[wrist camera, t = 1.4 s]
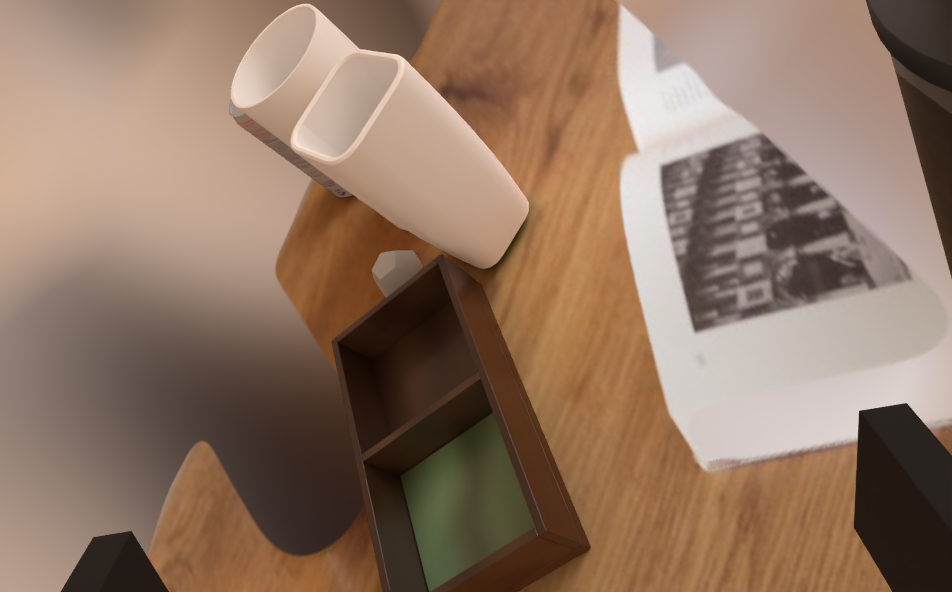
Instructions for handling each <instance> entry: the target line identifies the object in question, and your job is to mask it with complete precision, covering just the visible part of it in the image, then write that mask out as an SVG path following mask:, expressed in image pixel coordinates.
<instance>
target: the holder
mask: <svg viewBox="0 0 952 592" xmlns="http://www.w3.org/2000/svg"><path fill="white" fill-rule="evenodd" d="M332 346H333V351H334V356H335V361H336V366H337V371H338V376H339V380H340V385H341V390H342V395H343V400H344V405H345V410H346V415H347V419H348V424H349V429H350V434H351V439H352V444H353V449H354V454H355V458H356V463H357V468H358V473H359V478H360V483H361V487H362V493H363V498H364V503H365V507H366V512H367V517H368V522H369V527H370V532H371V537H372V542H373V547H374V551H375V556H376V561H377V566H378V571H379V576H380V581H381V586H382V590H383V592H517V591H519V590H521V589H522V588H524V587H526V586H528V585H529V584H531V583H533V582H534V581H536V580H538V579H539V578H541V577H543V576H545V575H546V574H548V573H550V572H551V571H553V570H555V569H556V568H558V567H560V566H562V565H563V564H565V563H567V562H568V561H570V560H572V559H573V558H575V557H577V556H579V555H580V554H582V553H584V552H585V551H587V550H589V549H590V548H591V547H590V544H589V542H588V540H587V537H586V535H585V532H584V530H583V528H582V525H581V523H580V520H579V518H578V516H577V513H576V511H575V508H574V506H573V504H572V501H571V499H570V496H569V494H568V492H567V489H566V487H565V484H564V482H563V480H562V477H561V475H560V472H559V470H558V468H557V465H556V463H555V460H554V458H553V456H552V453H551V451H550V448H549V446H548V444H547V441H546V439H545V436H544V434H543V432H542V429H541V427H540V424H539V422H538V420H537V417H536V415H535V412H534V410H533V408H532V405H531V403H530V400H529V398H528V396H527V393H526V391H525V388H524V386H523V384H522V381H521V379H520V376H519V374H518V372H517V369H516V367H515V364H514V362H513V360H512V357H511V355H510V352H509V350H508V348H507V345H506V343H505V340H504V338H503V336H502V333H501V331H500V328H499V326H498V324H497V321H496V319H495V316H494V314H493V312H492V309H491V307H490V304H489V302H488V300H487V297H486V295H485V292H484V290H483V288H482V285H481V284H480V283H479V282H477V281H476V280H475V279H473V278H472V277H471V276H470V275H468V274H467V273H466V272H464V271H463V270H462V269H460V268H459V267H458V266H456V265H455V264H454V263H452V262H451V261H450V260H448V259H447V258H446V257H444V256H443V255H442V254H441V255H440V256H439V257H437V258H436V259H435V260H433V261H432V262H431V263H430V264H428V265H427V266H426V267H425V268H423V269H422V270H421V271H420V272H418V273H417V274H416V275H414V276H413V277H412V278H411V279H409V280H408V281H407V282H406V283H404V284H403V285H402V286H400V287H399V288H398V289H397V290H395V291H394V292H393V293H392V294H390V295H389V296H388V297H387V298H385V299H384V300H383V301H381V302H380V303H379V304H378V305H376V306H375V307H374V308H373V309H371V310H370V311H369V312H368V313H366V314H365V315H364V316H362V317H361V318H360V319H359V320H357V321H356V322H355V323H354V324H352V325H351V326H350V327H348V328H347V329H346V330H345V331H343V332H342V333H341V334H340V335H338V336H337V337H336V338H335V339H333V340H332Z"/></svg>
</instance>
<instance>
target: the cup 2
mask: <svg viewBox="0 0 952 592" xmlns="http://www.w3.org/2000/svg"><path fill="white" fill-rule="evenodd" d="M291 149H292V150H293V151H294V152H295V153H297V154H298V155H299V156H301V157H302V158H303V159H305V160H306V161H307V162H309V163H310V164H311V165H313V166H314V167H315V168H317V169H318V170H319V171H321V172H322V173H323V174H325V175H326V176H327V177H329V178H330V179H331V180H333V181H334V182H336V183H337V184H338V185H340V186H341V187H343V188H344V189H345V190H347V191H348V192H350V193H351V194H352V195H354V196H355V197H357V198H358V199H360V200H361V201H362V202H364V203H365V204H367V205H368V206H370V207H371V208H373V209H374V210H376V211H377V212H379V213H380V214H382V215H383V216H385V217H386V218H388V219H389V220H391V221H392V222H394V223H395V224H397V225H399V226H400V227H402V228H404V229H405V230H407V231H409V232H410V233H412V234H414V235H415V236H417V237H419V238H420V239H422V240H424V241H425V242H427V243H429V244H431V245H433V246H435V247H437V248H438V249H440V250H442V251H444V252H446V253H448V254H449V255H451V256H453V257H456V258H458V259H460V260H462V261H464V262H466V263H469V264H471V265H473V266H475V267H477V268H481V269H486V268H489V267H492V266H493V265H494V264H496V263H497V262H498V261H499V260H500V259H501V257H502V256H503V255H504V253H505V251H506V250H507V248H508V246H509V245H510V243H511V242H512V240H513V238H514V237H515V235H516V233H517V232H518V230H519V229H520V227H521V225H522V224H523V222H524V220H525V219H526V217H527V214H528V212H529V203H528V200H527V199H526V197H525V196H524V194H523V193H522V191H521V190H520V189H519V187H518V186H517V184H516V183H515V182H514V180H513V179H512V177H511V176H510V175H509V173H508V172H507V171H506V169H505V168H504V167H503V166H502V164H501V163H500V162H499V160H498V159H497V158H496V157H495V155H494V154H493V153H492V151H491V150H490V149H489V148H488V147H487V146H486V145H485V143H484V142H483V141H482V140H481V139H480V138H479V137H478V135H477V134H476V133H475V132H474V131H473V130H472V129H471V127H470V126H469V125H468V124H467V123H466V122H465V121H464V120H463V119H462V118H461V116H460V115H459V114H458V113H457V112H456V111H455V110H454V109H453V108H452V107H451V106H450V105H449V104H448V103H447V102H446V101H445V99H444V98H443V97H442V96H441V95H440V94H439V93H438V92H437V91H436V90H435V89H434V88H433V87H432V86H431V85H430V84H429V83H428V82H427V81H426V80H425V79H424V78H423V77H422V76H421V75H420V74H419V73H418V72H417V71H416V70H415V69H414V68H413V67H412V66H411V65H410V64H409V63H408V62H407V61H406V60H405V59H404V58H402V57H401V56H399V55H396V54H389V53H381V52H374V51H368V50H356V51H352V52H350V53H348V54H347V55H345V56H344V57H343V58H342V59H341V60H339V61H338V62H337V64H336V65H335V66H334V67H333V69H332V70H331V72H330V73H329V75H328V76H327V78H326V79H325V81H324V82H323V84H322V85H321V87H320V88H319V90H318V91H317V93H316V94H315V96H314V98H313V99H312V101H311V102H310V104H309V105H308V107H307V108H306V110H305V111H304V113H303V114H302V116H301V117H300V119H299V120H298V122H297V124H296V126H295V128H294V130H293V132H292V136H291Z"/></svg>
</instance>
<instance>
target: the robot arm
mask: <svg viewBox="0 0 952 592" xmlns="http://www.w3.org/2000/svg"><path fill="white" fill-rule="evenodd" d="M858 427H859V428H858V449H857V471H856V493H855V515H854V529H855V530H856V532H857V533H858V535H859V537H860V538H861V540H862V542H863V543H864V545H865V547H866V548H867V550H868V552H869V553H870V555H871V557H872V558H873V560H874V562H875V563H876V565H877V567H878V568H879V570H880V572H881V573H882V575H883V577H884V578H885V580H886V582H887V583H888V585H889V587H890V588H891V590H892V592H952V455H951V454H950V453H949V452H948V451H947V450H946V448H945V447H944V446H943V445H942V444H941V443H940V441H939V440H938V439H937V438H936V437H935V436H934V435H933V433H932V432H931V431H930V430H929V429H928V428H927V426H926V425H925V424H924V423H923V422H922V421H921V419H920V418H919V417H918V416H917V415H916V414H915V412H914V411H913V410H912V409H911V408H910V407H909V405H908V404H907V403H905V404H899V405H893V406H886V407H880V408H874V409H868V410H862V411H859V426H858ZM61 592H169V591H168V590H167V588H166V586H165V585H164V583H163V582H162V580H161V578H160V577H159V575H158V573H157V572H156V570H155V569H154V567H153V565H152V564H151V562H150V560H149V559H148V557H147V556H146V554H145V552H144V551H143V549H142V548H141V546H140V544H139V543H138V541H137V539H136V538H135V536H134V535H133V533H132V531H129V532H124V533H117V534H111V535H105V536H99V537H94V538H93V539H92V541H91V542H90V544H89V545H88V547H87V549H86V550H85V552H84V554H83V555H82V557H81V559H80V560H79V562H78V564H77V565H76V567H75V569H74V570H73V572H72V574H71V575H70V577H69V579H68V580H67V582H66V584H65V585H64V587H63V589H62V590H61Z"/></svg>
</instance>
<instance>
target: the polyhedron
mask: <svg viewBox="0 0 952 592" xmlns="http://www.w3.org/2000/svg"><path fill="white" fill-rule="evenodd" d="M423 268H424V265H423V264H422V262H421V261H420V260H419V258H418V257H417V255H416V254H415V252H414V251H413V250H395V251H389V252H383V253H380V255H379V257H378V259H377V261H376V263H375V265H374V267H373V269H372V270H371V271H372V274H373V277H374V280H375V283H376V284H377V286H378V287H379V289H380V290H381V292H382V293H383V294H384V296H385V297H386V298H387V297H388V296H389V295H390V294H392V293H393V292H394V291H395V290H397V289H398V288H399V287H400V286H402V285H403V284H404V283H406V282H407V281H408V280H409V279H411V278H412V277H413V276H414V275H416V274H417V273H418V272H420V271H421V270H422V269H423Z"/></svg>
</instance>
